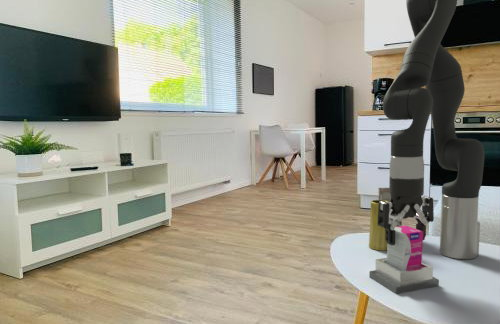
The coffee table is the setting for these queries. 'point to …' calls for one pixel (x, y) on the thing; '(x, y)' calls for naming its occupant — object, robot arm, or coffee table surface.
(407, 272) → the square tray
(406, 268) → the supplement box
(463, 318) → the coffee table surface
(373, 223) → the vase
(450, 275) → the coffee table surface
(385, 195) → the coffee box
